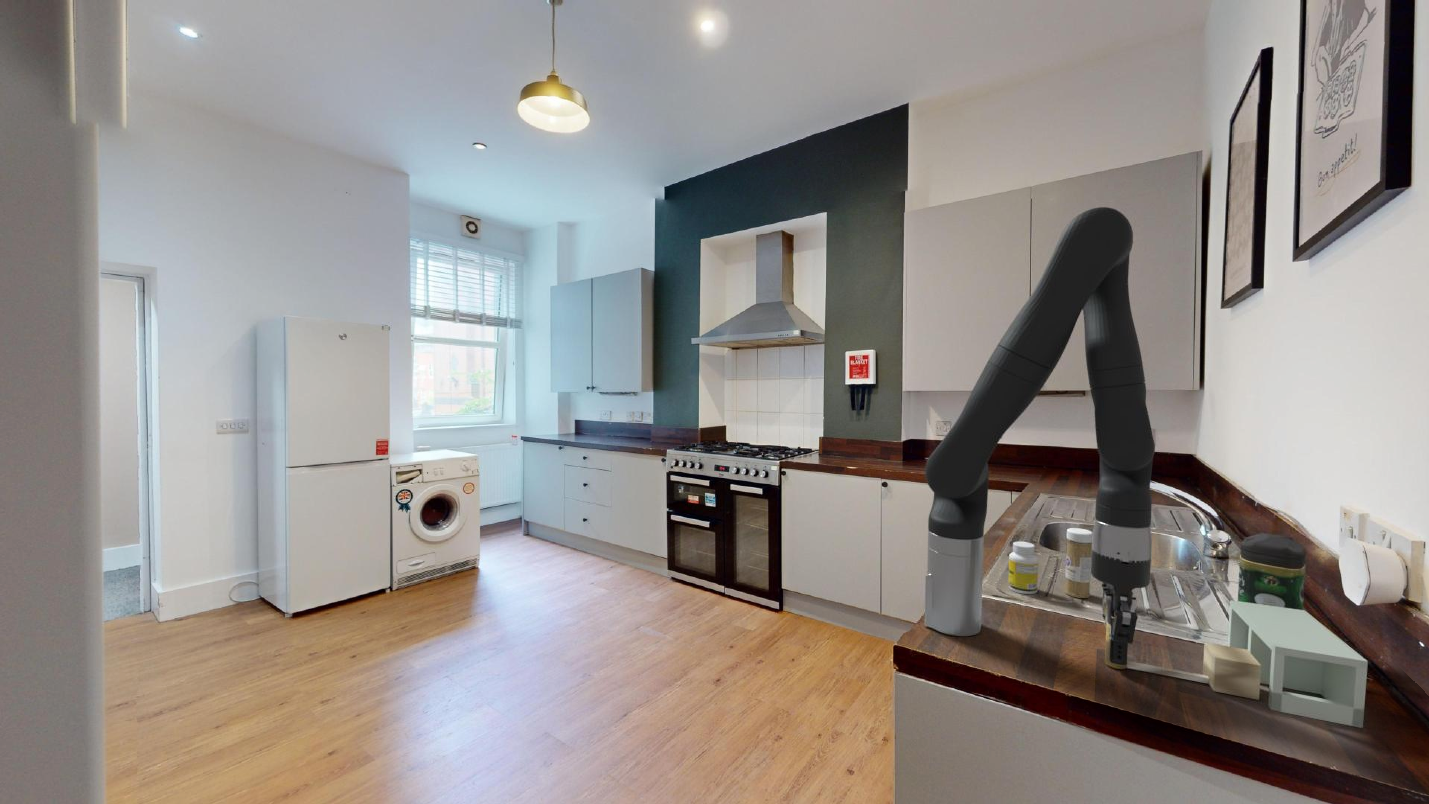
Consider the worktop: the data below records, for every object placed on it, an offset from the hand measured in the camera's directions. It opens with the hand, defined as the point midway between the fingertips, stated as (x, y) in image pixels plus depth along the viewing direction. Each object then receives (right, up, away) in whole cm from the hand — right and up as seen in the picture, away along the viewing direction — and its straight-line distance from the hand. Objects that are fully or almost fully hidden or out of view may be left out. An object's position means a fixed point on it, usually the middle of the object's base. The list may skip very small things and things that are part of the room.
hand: (1115, 657), depth 90 cm
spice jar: (+11, 0, +28) cm, 30 cm away
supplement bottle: (+2, 0, +30) cm, 30 cm away
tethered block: (+7, -1, -3) cm, 8 cm away
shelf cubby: (+21, -2, -6) cm, 22 cm away
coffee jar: (+30, -1, +7) cm, 31 cm away
